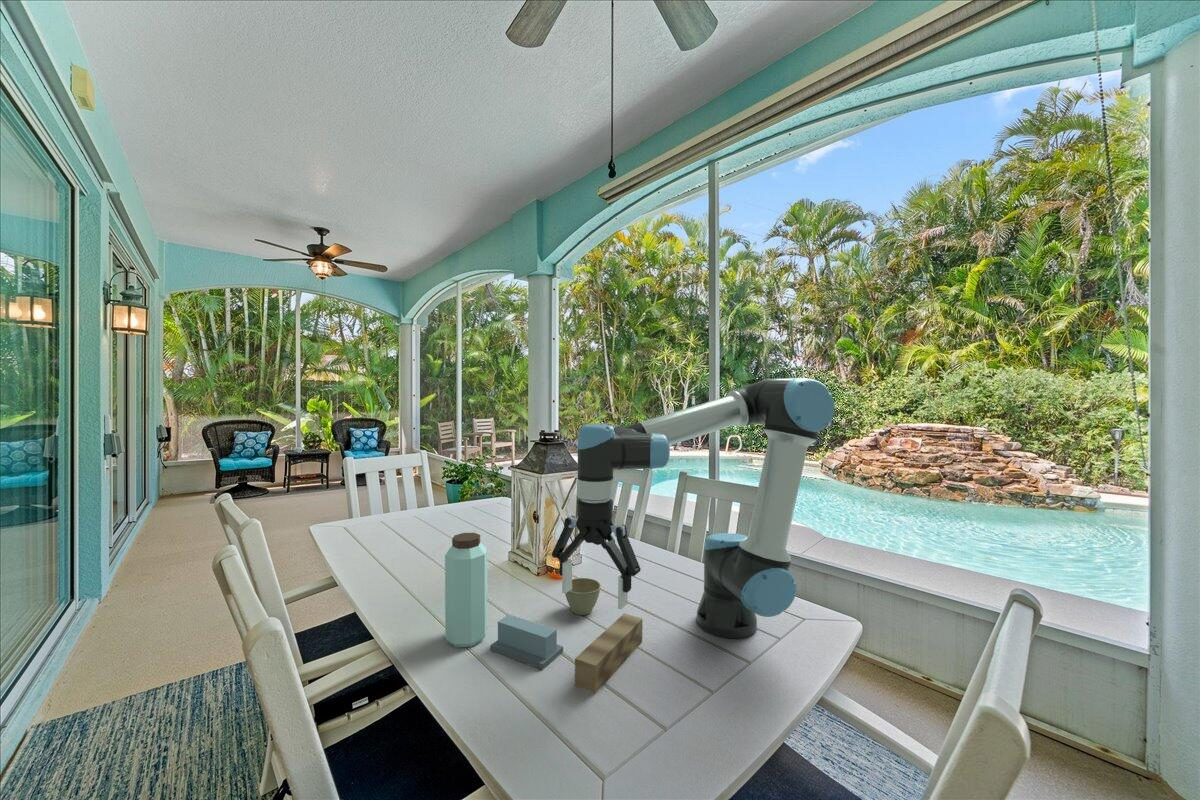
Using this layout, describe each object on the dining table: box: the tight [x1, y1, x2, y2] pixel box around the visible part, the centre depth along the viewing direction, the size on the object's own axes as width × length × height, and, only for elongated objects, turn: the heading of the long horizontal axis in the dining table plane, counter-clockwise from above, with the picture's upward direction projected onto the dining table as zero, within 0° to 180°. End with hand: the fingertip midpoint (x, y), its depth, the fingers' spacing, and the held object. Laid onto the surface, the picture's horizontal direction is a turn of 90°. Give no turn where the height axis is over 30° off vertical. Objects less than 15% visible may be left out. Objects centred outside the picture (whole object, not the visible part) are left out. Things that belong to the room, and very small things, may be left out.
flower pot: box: [564, 577, 601, 616], centre depth 129 cm, size 10×10×7 cm
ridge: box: [489, 614, 564, 671], centre depth 110 cm, size 15×8×6 cm, turn 61°
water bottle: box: [444, 532, 488, 648], centre depth 115 cm, size 10×10×25 cm
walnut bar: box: [574, 613, 643, 694], centre depth 106 cm, size 22×5×6 cm, turn 150°
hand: (594, 598), depth 100 cm, fingers open, 13 cm apart
